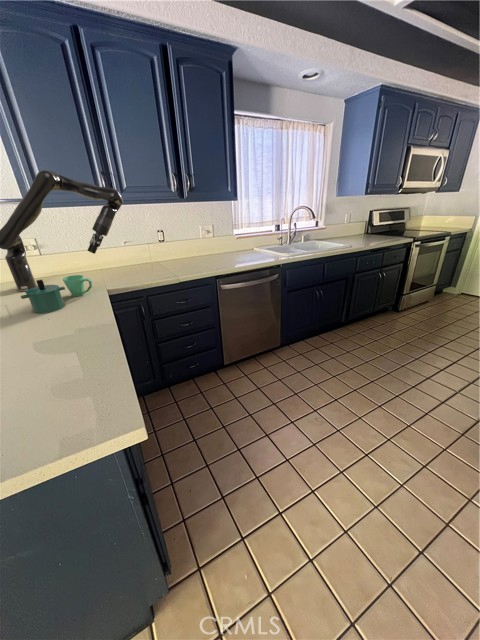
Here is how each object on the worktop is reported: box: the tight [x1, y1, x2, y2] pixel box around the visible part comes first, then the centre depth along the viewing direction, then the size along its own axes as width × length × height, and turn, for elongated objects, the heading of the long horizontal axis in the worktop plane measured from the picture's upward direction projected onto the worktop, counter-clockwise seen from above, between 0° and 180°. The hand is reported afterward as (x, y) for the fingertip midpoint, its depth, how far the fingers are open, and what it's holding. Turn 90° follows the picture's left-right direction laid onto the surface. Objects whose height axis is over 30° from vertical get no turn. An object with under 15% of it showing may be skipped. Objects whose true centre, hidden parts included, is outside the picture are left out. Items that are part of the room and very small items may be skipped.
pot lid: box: [24, 279, 60, 295], centre depth 127 cm, size 14×14×6 cm
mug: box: [62, 274, 93, 297], centre depth 147 cm, size 15×10×10 cm
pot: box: [20, 286, 66, 314], centre depth 130 cm, size 13×18×10 cm
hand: (91, 252), depth 144 cm, fingers open, 8 cm apart
